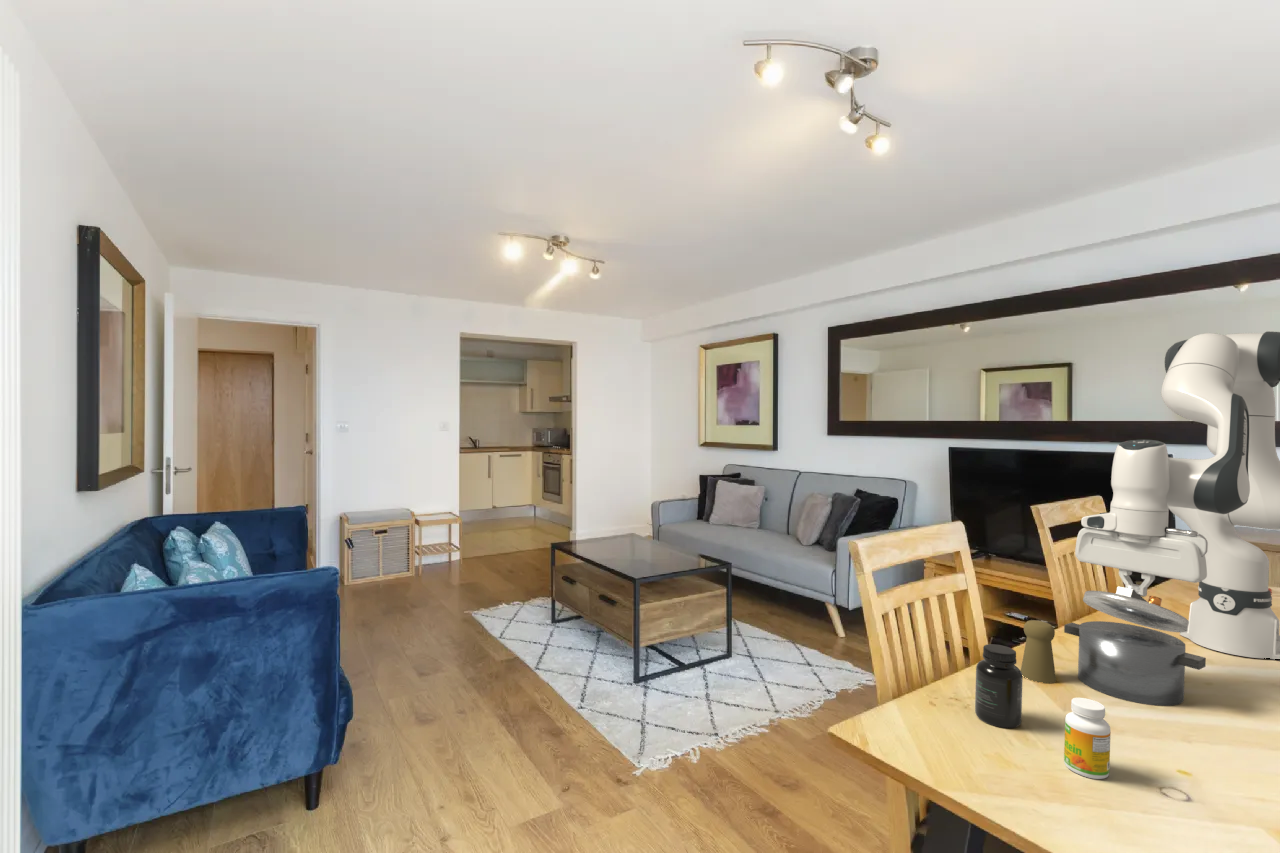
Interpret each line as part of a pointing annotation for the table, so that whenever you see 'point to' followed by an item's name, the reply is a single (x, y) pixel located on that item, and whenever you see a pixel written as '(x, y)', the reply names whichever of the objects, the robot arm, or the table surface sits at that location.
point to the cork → (1038, 652)
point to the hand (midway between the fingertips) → (1135, 594)
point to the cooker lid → (1136, 609)
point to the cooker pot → (1133, 662)
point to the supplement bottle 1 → (998, 687)
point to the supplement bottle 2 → (1087, 739)
